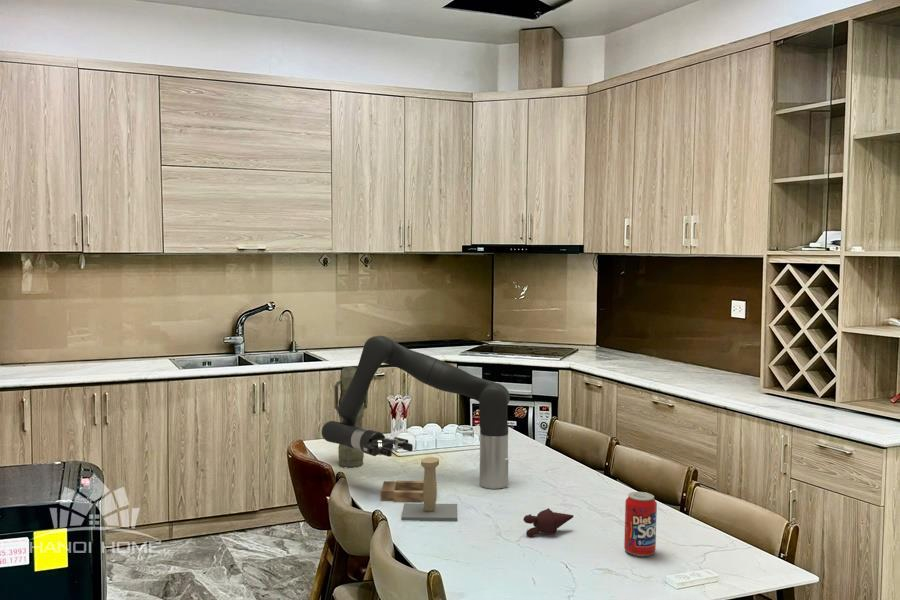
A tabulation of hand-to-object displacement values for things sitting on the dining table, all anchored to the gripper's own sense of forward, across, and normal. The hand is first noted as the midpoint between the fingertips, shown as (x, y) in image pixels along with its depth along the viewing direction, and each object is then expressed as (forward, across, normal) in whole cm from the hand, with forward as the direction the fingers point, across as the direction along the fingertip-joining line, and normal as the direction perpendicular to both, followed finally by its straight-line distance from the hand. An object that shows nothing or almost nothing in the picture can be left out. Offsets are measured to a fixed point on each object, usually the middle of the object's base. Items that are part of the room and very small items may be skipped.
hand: (401, 450), depth 236 cm
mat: (+15, -2, +16) cm, 22 cm away
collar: (-2, +5, +16) cm, 16 cm away
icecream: (+48, +11, +16) cm, 52 cm away
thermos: (-42, +13, +16) cm, 46 cm away
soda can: (+73, +17, +17) cm, 77 cm away
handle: (+14, -2, +15) cm, 21 cm away
